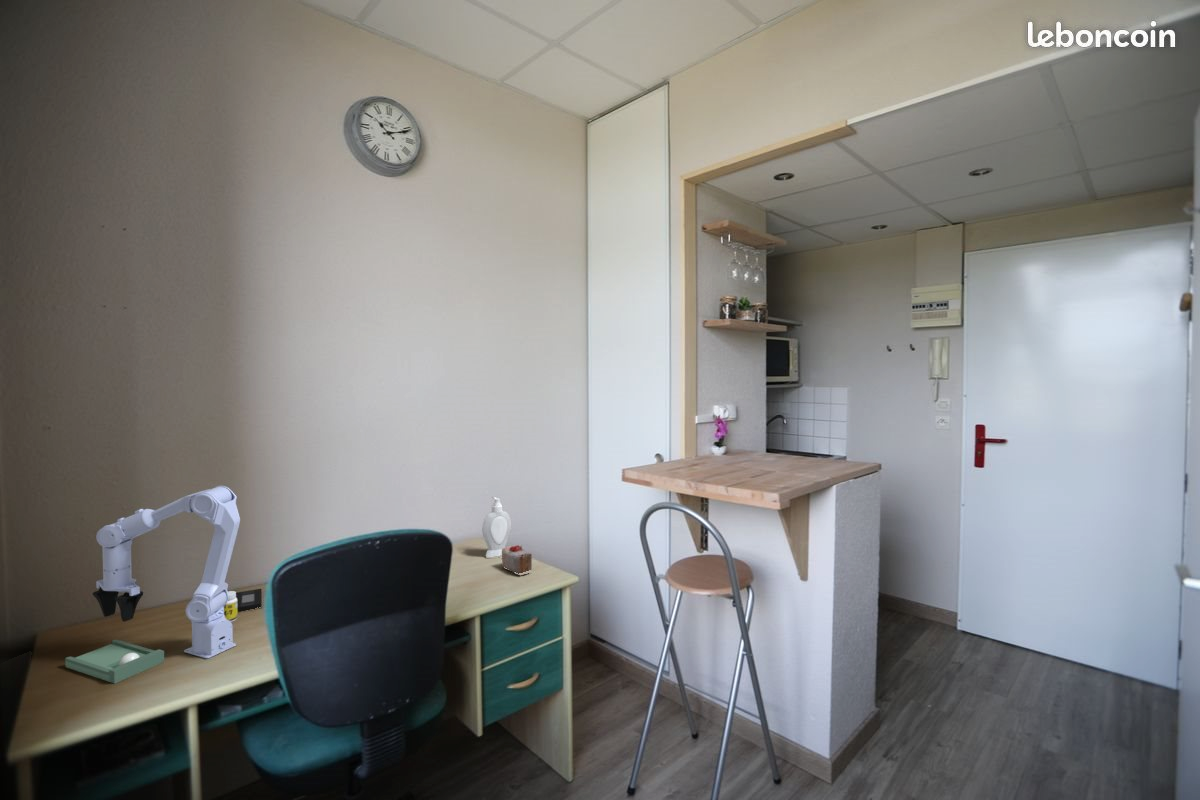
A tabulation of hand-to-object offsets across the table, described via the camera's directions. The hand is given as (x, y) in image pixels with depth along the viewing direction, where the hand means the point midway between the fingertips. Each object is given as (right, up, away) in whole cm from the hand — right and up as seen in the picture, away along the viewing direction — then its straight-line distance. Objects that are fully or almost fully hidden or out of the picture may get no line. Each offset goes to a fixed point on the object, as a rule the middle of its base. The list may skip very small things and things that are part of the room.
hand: (118, 617), depth 148 cm
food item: (+96, -9, +68) cm, 118 cm away
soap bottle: (+85, -8, +85) cm, 121 cm away
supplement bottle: (+15, -9, +21) cm, 27 cm away
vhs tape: (+13, -9, +34) cm, 38 cm away
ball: (+9, -8, -8) cm, 15 cm away
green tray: (+4, -10, -5) cm, 12 cm away
